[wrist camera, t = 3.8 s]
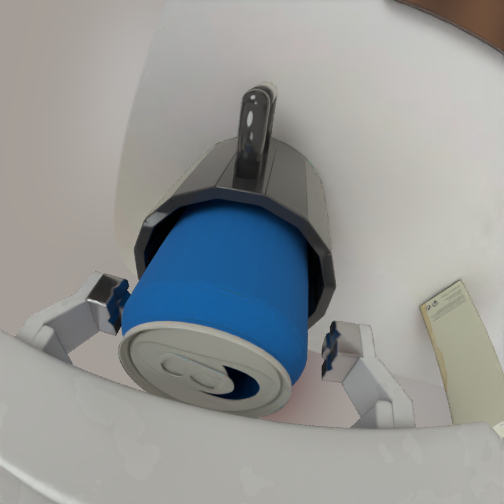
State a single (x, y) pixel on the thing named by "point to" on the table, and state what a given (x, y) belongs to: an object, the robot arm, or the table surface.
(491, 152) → the table surface
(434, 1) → the serving board
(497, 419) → the cosmetic box
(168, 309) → the beverage can
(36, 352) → the robot arm
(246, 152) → the mug
